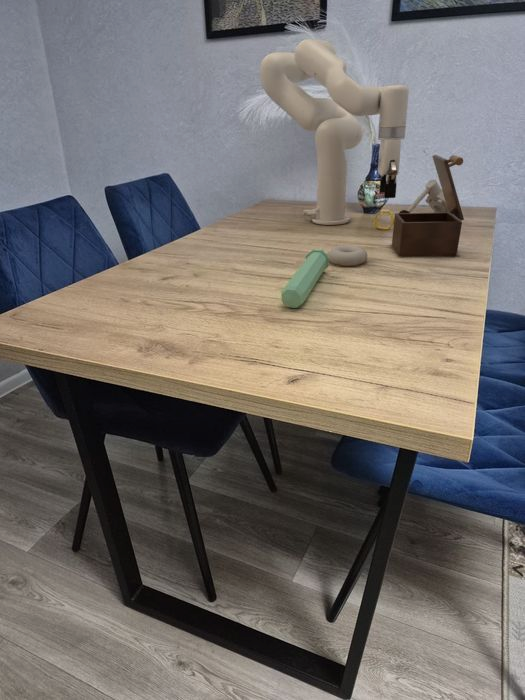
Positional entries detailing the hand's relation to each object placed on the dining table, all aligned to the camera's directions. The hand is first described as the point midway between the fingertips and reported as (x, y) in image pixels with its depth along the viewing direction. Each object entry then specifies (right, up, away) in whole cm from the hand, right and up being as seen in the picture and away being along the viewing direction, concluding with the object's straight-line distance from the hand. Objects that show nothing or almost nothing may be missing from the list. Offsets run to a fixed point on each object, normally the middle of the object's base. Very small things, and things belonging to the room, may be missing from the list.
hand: (387, 195), depth 144 cm
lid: (+8, -6, -25) cm, 27 cm away
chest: (+5, -21, -17) cm, 27 cm away
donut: (-17, -25, -24) cm, 38 cm away
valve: (+17, -4, +14) cm, 23 cm away
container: (-29, -34, -40) cm, 60 cm away
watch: (0, -9, +5) cm, 11 cm away
